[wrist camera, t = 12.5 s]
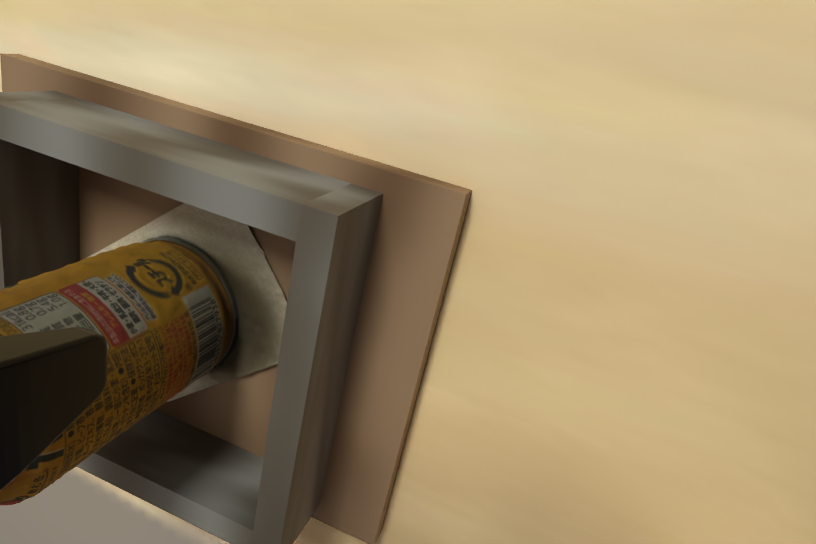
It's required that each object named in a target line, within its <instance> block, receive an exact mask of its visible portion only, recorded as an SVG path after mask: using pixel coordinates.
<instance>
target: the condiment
mask: <svg viewBox="0 0 816 544" xmlns="http://www.w3.org/2000/svg"><path fill="white" fill-rule="evenodd" d="M286 306H287V302H286V300H285V297H284V295H283V292H282V290H281V288H280V286H279V284H278V282H277V280H276V278H275V276H274V274H273V272H272V271H271V268H270V267H269V265H268V263H267V261H266V259H265V253H264V251H263V250H262V249H261V248H260V247H259V245H258V243H257V242H256V240H255V238H254V237H253V235H252V233H251V231H250V229H249V227H248V225H246V224H243V223H241V222H238V221H235V220H232V219H229V218H226V217H223V216H220V215H218V214H215V213H212V212H209V211H206V210H203V209H200V208H197V207H195V206H192V205H189V204H186V203H183V204H182V205H180V206H178V207H176V208H174V209H172V210H171V211H169V212H167V213H166V214H164V215H162V216H160V217H158V218H157V219H155V220H153V221H152V222H150V223H148V224H146V225H145V226H143V227H141V228H139V229H137V230H136V231H134V232H132V233H130V234H129V235H127V236H125V237H123V238H121V239H120V240H118V241H116V242H114V243H113V244H111V245H109V246H107V247H105V248H104V249H102V250H100V251H98V252H96V253H95V254H93V255H91V256H89V257H87V258H85V259H82V260H80V261H78V262H76V263H73V264H68V265H66V266H64V267H62V268H60V269H57V270H54V271H50V272H45V273H43V274H40V275H38V276H35V277H32V278H30V279H26V280H21V281H19V282H18V283H17V284H14V285H10V286H7V287H5V288H3V289H1V290H0V336H7V335H15V334H23V333H31V332H39V331H47V330H55V329H63V328H71V327H83V328H86V329H89V330H91V331H93V332H96V333H98V334H100V335H102V336H103V337H104V338H105V340H106V342H107V382H106V385H105V388H104V390H103V392H102V393H101V394H100V396H99V397H98V398H97V399H96V400H95V401H94V402H93V403H92V404H91V405H90V406H89V407H88V408H87V409H86V410H85V411H84V412H83V413H82V414H81V415H80V416H79V417H78V418H77V419H76V420H75V421H74V422H73V423H72V424H71V425H70V426H69V427H68V428H67V429H66V430H65V431H64V432H63V433H62V434H61V435H60V436H59V437H58V438H57V439H56V440H55V441H54V442H53V443H52V444H51V445H50V446H48V447H47V448H46V449H45V450H44V451H43V452H42V453H41V454H40V455H39V456H38V457H37V458H36V459H35V460H34V461H33V462H32V463H31V464H30V465H29V466H28V467H27V468H26V469H25V470H24V471H23V472H22V473H20V474H19V475H18V476H17V477H16V478H15V479H14V480H12V481H11V482H10V483H9V484H8V485H7V486H5V487H4V488H3V489H2V490H1V491H0V505H12V504H16V503H20V502H21V501H23V500H25V499H28V498H30V497H33V496H35V495H36V494H38V493H40V492H41V491H42V490H43V489H45V488H46V487H47V486H49V485H50V484H53V483H54V482H55V481H56V480H57V479H59V478H60V477H62V476H63V475H64V474H65V473H66V472H68V471H70V470H71V469H73V468H74V467H76V466H77V465H78V464H80V463H81V462H83V461H84V460H85V459H87V458H88V457H89V456H90V455H92V454H93V453H96V452H97V451H98V450H99V449H100V448H101V447H103V446H104V445H106V444H107V443H109V442H110V441H111V440H113V439H114V438H115V437H117V436H118V435H120V434H121V433H123V432H125V431H127V430H128V429H129V428H130V427H131V426H133V425H134V424H135V423H137V422H138V421H139V420H141V419H142V418H144V417H145V416H147V415H149V414H150V413H151V412H152V411H154V410H155V409H157V408H158V407H159V406H161V405H163V404H164V403H165V402H166V401H167V402H169V401H172V400H175V399H178V398H180V397H183V396H186V395H188V394H191V393H194V392H197V391H200V390H203V389H205V388H208V387H211V386H214V385H217V384H220V383H223V382H225V381H228V380H232V379H236V378H237V377H241V376H245V375H248V374H250V373H252V372H255V371H258V370H261V369H264V368H267V367H269V366H272V365H275V364H278V360H279V353H280V346H281V339H282V333H283V326H284V319H285V312H286Z"/></svg>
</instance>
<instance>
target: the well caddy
mask: <svg viewBox="0 0 816 544" xmlns="http://www.w3.org/2000/svg"><path fill="white" fill-rule="evenodd" d="M0 56H1V73H2V90H3V92H0V290H1V289H3V288H5V287H7V286H10V285H14V284H17V283H18V282H19V281H21V280H26V279H30V278H32V277H35V276H38V275H40V274H43V273H45V272H50V271H54V270H57V269H60V268H62V267H64V266H66V265H68V264H73V263H76V262H78V261H80V260H82V259H85V258H87V257H89V256H91V255H93V254H95V253H96V252H98V251H100V250H102V249H104V248H105V247H107V246H109V245H111V244H113V243H114V242H116V241H118V240H120V239H121V238H123V237H125V236H127V235H129V234H130V233H132V232H134V231H136V230H137V229H139V228H141V227H143V226H145V225H146V224H148V223H150V222H152V221H153V220H155V219H157V218H158V217H160V216H162V215H164V214H166V213H167V212H169V211H171V210H172V209H174V208H176V207H178V206H180V205H182V204H183V203H186V204H189V205H192V206H195V207H197V208H200V209H203V210H206V211H209V212H212V213H215V214H218V215H220V216H223V217H226V218H229V219H232V220H235V221H238V222H241V223H243V224H246V225H248V227H249V229H250V231H251V233H252V235H253V237H254V238H255V240H256V242H257V243H258V245H259V247H260V248H261V249H262V250H263V251H264V253H265V259H266V261H267V263H268V265H269V267H270V268H271V271H272V272H273V274H274V276H275V278H276V280H277V282H278V284H279V286H280V288H281V290H282V292H283V295H284V297H285V300H286V302H287V306H286V312H285V319H284V326H283V333H282V339H281V346H280V353H279V360H278V364H275V365H272V366H269V367H267V368H264V369H261V370H258V371H255V372H252V373H250V374H248V375H245V376H241V377H237V378H236V379H232V380H228V381H225V382H223V383H220V384H217V385H214V386H211V387H208V388H205V389H203V390H200V391H197V392H194V393H191V394H188V395H186V396H183V397H180V398H178V399H175V400H172V401H169V402H167V401H166V402H165V403H164V404H163V405H161V406H159V407H158V408H157V409H155V410H154V411H152V412H151V413H150V414H149V415H147V416H145V417H144V418H142V419H141V420H139V421H138V422H137V423H135V424H134V425H133V426H131V427H130V428H129V429H128V430H127V431H125V432H123V433H121V434H120V435H118V436H117V437H115V438H114V439H113V440H111V441H110V442H109V443H107V444H106V445H104V446H103V447H101V448H100V449H99V450H98V451H97V452H96V453H93V454H92V455H90V456H89V457H88V458H87V459H85V460H84V461H83V462H81V463H80V464H78V465H77V467H79V468H81V469H83V470H85V471H87V472H89V473H91V474H93V475H95V476H97V477H99V478H101V479H103V480H105V481H107V482H109V483H111V484H113V485H115V486H117V487H119V488H121V489H123V490H125V491H127V492H129V493H131V494H133V495H135V496H137V497H139V498H141V499H143V500H145V501H147V502H149V503H151V504H153V505H155V506H157V507H159V508H161V509H163V510H165V511H167V512H169V513H171V514H173V515H175V516H177V517H179V518H181V519H183V520H185V521H187V522H189V523H191V524H193V525H195V526H197V527H199V528H201V529H203V530H205V531H207V532H209V533H211V534H213V535H215V536H217V537H219V538H221V539H223V540H225V541H227V542H229V543H231V544H293V542H294V541H295V539H296V538H297V536H298V535H299V534H300V532H301V531H302V529H303V528H304V526H305V525H306V523H307V522H308V521H309V519H310V518H311V517H313V518H315V519H317V520H320V521H322V522H324V523H326V524H328V525H330V526H332V527H335V528H337V529H339V530H341V531H343V532H345V533H347V534H349V535H352V536H354V537H356V538H358V539H360V540H362V541H364V542H366V543H369V544H375V542H376V540H377V538H378V536H379V534H380V532H381V528H382V525H383V521H384V517H385V513H386V510H387V506H388V502H389V498H390V495H391V491H392V487H393V483H394V480H395V476H396V472H397V468H398V465H399V461H400V457H401V453H402V450H403V446H404V442H405V438H406V435H407V431H408V427H409V424H410V420H411V416H412V412H413V409H414V405H415V401H416V397H417V394H418V390H419V386H420V382H421V379H422V375H423V371H424V367H425V364H426V360H427V356H428V352H429V349H430V345H431V341H432V337H433V334H434V330H435V326H436V322H437V319H438V315H439V311H440V307H441V304H442V300H443V296H444V292H445V289H446V285H447V281H448V278H449V274H450V270H451V266H452V263H453V259H454V255H455V251H456V248H457V244H458V240H459V236H460V233H461V229H462V225H463V221H464V218H465V214H466V210H467V206H468V203H469V199H470V195H471V191H472V190H469V189H466V188H463V187H459V186H456V185H453V184H449V183H446V182H443V181H439V180H436V179H433V178H429V177H426V176H423V175H419V174H416V173H413V172H409V171H406V170H403V169H399V168H396V167H393V166H389V165H386V164H383V163H379V162H376V161H373V160H369V159H366V158H363V157H359V156H356V155H353V154H349V153H346V152H343V151H339V150H336V149H333V148H329V147H326V146H323V145H319V144H316V143H313V142H309V141H306V140H303V139H299V138H296V137H293V136H289V135H286V134H283V133H279V132H276V131H273V130H269V129H266V128H263V127H259V126H256V125H253V124H249V123H246V122H243V121H239V120H236V119H233V118H229V117H226V116H223V115H219V114H216V113H213V112H209V111H206V110H203V109H199V108H196V107H193V106H189V105H186V104H183V103H179V102H176V101H173V100H169V99H166V98H163V97H159V96H156V95H153V94H149V93H146V92H143V91H139V90H136V89H133V88H129V87H126V86H123V85H119V84H116V83H113V82H109V81H106V80H103V79H99V78H96V77H93V76H89V75H86V74H83V73H79V72H76V71H73V70H69V69H66V68H63V67H59V66H56V65H53V64H49V63H46V62H43V61H39V60H36V59H33V58H29V57H26V56H23V55H19V54H0Z"/></svg>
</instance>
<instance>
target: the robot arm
mask: <svg viewBox="0 0 816 544" xmlns="http://www.w3.org/2000/svg"><path fill="white" fill-rule="evenodd" d="M106 382H107V342H106V340H105V338H104V337H103V336H102V335H100V334H98V333H96V332H93V331H91V330H89V329H86V328H83V327H71V328H63V329H55V330H47V331H39V332H31V333H23V334H15V335H7V336H0V491H1V490H2V489H3V488H4V487H5V486H7V485H8V484H9V483H10V482H11V481H12V480H14V479H15V478H16V477H17V476H18V475H19V474H20V473H22V472H23V471H24V470H25V469H26V468H27V467H28V466H29V465H30V464H31V463H32V462H33V461H34V460H35V459H36V458H37V457H38V456H39V455H40V454H41V453H42V452H43V451H44V450H45V449H46V448H47V447H48V446H50V445H51V444H52V443H53V442H54V441H55V440H56V439H57V438H58V437H59V436H60V435H61V434H62V433H63V432H64V431H65V430H66V429H67V428H68V427H69V426H70V425H71V424H72V423H73V422H74V421H75V420H76V419H77V418H78V417H79V416H80V415H81V414H82V413H83V412H84V411H85V410H86V409H87V408H88V407H89V406H90V405H91V404H92V403H93V402H94V401H95V400H96V399H97V398H98V397H99V396H100V394H101V393H102V392H103V390H104V388H105V385H106Z"/></svg>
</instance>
